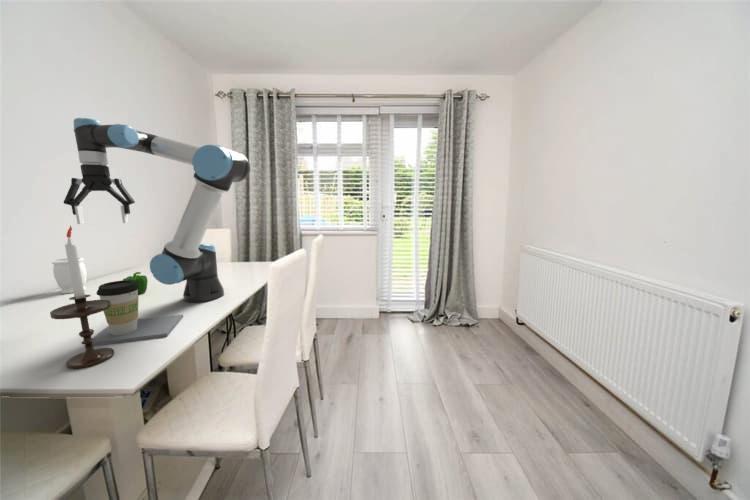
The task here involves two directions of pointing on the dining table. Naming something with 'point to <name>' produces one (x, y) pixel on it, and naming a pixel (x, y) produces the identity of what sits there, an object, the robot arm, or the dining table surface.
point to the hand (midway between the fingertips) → (104, 223)
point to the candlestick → (82, 314)
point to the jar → (67, 274)
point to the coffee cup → (120, 305)
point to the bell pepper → (139, 282)
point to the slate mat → (141, 330)
